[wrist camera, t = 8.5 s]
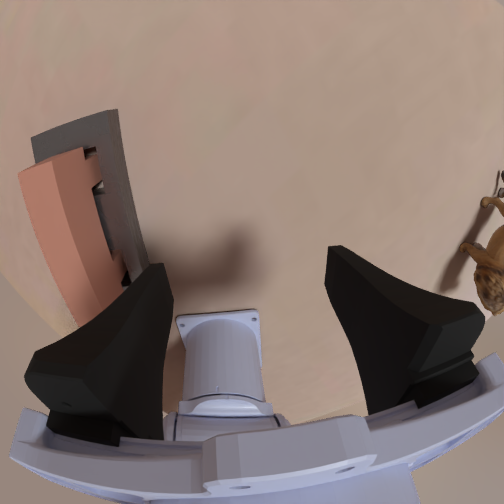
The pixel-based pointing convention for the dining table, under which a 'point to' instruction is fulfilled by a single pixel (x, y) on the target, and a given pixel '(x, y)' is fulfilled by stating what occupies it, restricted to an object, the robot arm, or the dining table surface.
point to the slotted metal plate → (114, 180)
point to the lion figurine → (490, 262)
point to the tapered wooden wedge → (73, 232)
